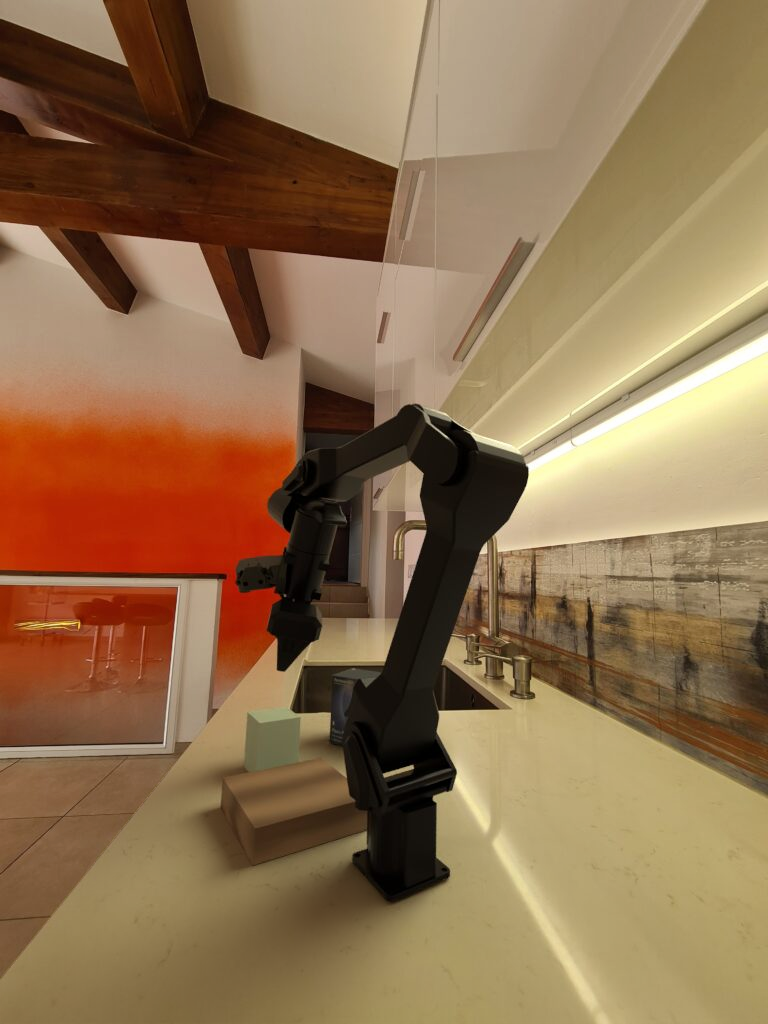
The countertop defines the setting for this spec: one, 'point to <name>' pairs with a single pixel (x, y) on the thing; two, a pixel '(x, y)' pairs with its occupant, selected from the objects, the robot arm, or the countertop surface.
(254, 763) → the sage block
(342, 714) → the small box
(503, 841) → the countertop surface
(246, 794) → the walnut block
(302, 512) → the robot arm
